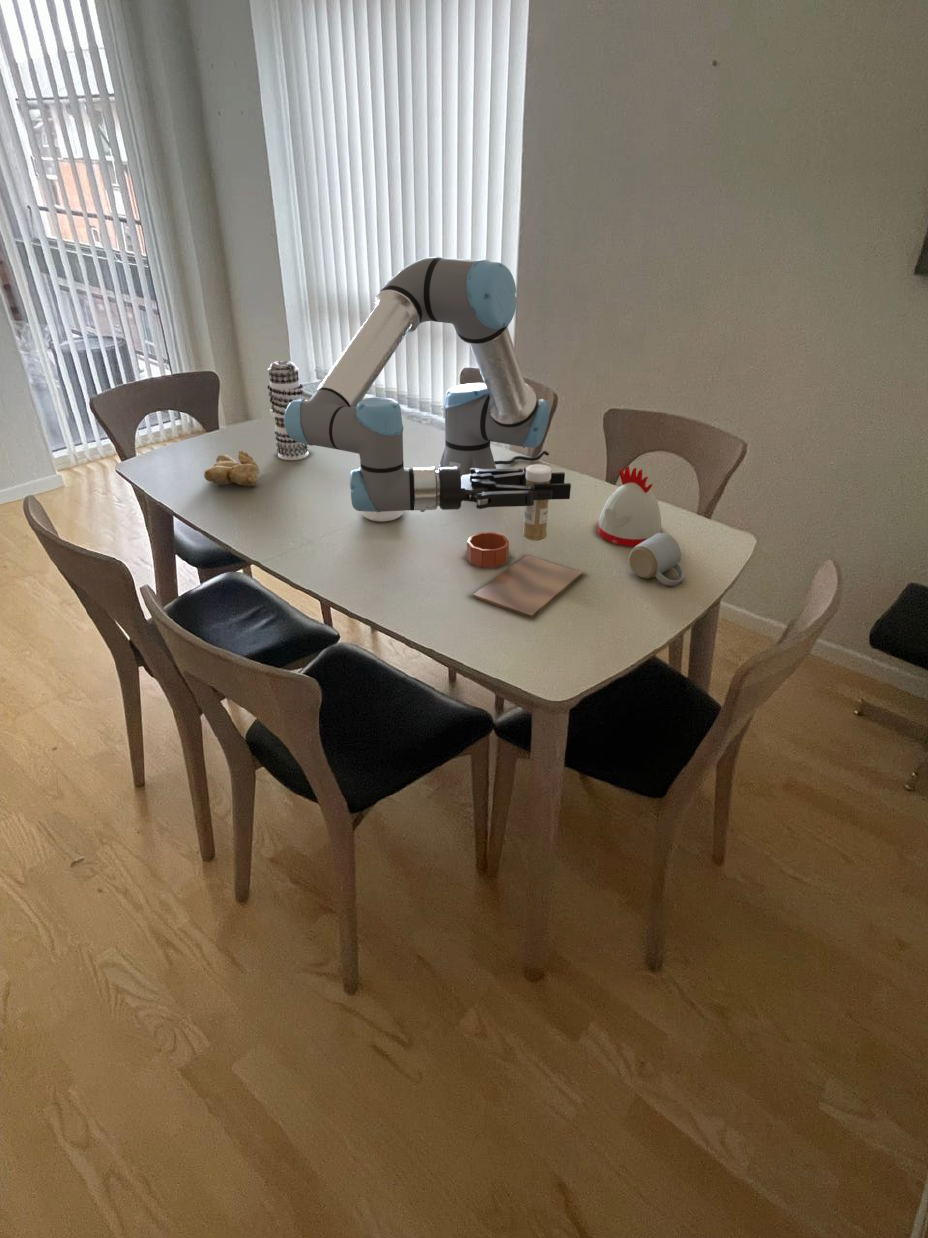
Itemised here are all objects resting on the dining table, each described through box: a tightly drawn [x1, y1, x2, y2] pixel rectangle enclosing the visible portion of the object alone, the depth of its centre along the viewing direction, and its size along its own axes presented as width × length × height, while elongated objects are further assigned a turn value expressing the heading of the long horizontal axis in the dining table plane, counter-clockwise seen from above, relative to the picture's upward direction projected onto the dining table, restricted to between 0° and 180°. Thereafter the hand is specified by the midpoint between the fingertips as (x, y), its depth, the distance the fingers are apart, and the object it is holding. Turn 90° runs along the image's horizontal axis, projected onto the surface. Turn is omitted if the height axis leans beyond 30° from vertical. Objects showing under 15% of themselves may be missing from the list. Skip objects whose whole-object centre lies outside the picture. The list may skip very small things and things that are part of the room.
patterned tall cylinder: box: [266, 360, 309, 461], centre depth 200 cm, size 9×9×25 cm
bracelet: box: [466, 531, 510, 569], centre depth 155 cm, size 8×9×4 cm
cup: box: [360, 511, 405, 523], centre depth 171 cm, size 10×10×10 cm
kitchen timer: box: [597, 465, 662, 547], centre depth 163 cm, size 14×14×15 cm
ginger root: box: [203, 450, 260, 487], centre depth 188 cm, size 16×16×8 cm
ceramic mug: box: [628, 532, 685, 587], centre depth 148 cm, size 11×8×8 cm
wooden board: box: [472, 555, 583, 619], centre depth 146 cm, size 20×13×1 cm, turn 145°
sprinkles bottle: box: [522, 463, 552, 542], centre depth 135 cm, size 5×5×13 cm
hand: (566, 485), depth 134 cm, fingers closed on sprinkles bottle, 5 cm apart
